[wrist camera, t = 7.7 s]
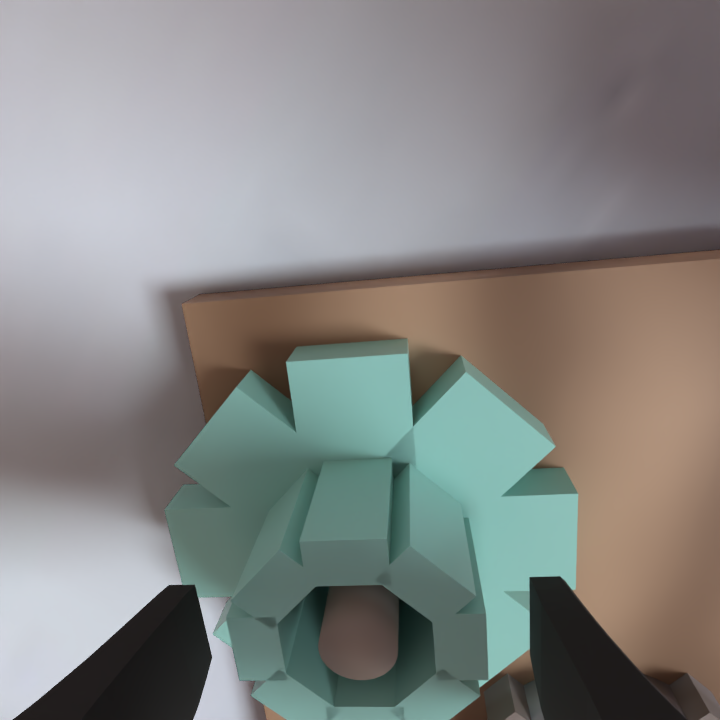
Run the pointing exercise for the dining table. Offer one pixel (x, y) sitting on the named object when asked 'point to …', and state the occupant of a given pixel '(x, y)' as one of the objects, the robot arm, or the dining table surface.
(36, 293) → the dining table surface
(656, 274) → the gear board
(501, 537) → the teal gear
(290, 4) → the dining table surface
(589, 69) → the dining table surface
